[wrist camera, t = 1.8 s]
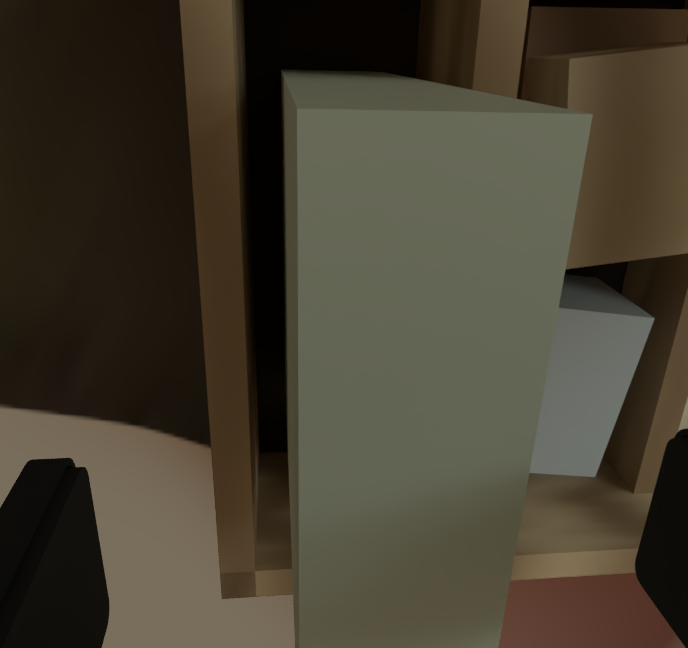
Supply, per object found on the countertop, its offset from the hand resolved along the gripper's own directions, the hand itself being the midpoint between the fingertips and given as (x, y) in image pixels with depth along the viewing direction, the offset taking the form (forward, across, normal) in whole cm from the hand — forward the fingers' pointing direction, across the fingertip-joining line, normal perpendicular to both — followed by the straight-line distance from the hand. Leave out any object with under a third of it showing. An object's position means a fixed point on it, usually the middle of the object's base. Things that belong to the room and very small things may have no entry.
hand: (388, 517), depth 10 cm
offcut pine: (+12, -9, -4) cm, 16 cm away
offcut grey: (+16, -9, +5) cm, 19 cm away
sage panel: (+16, -1, 0) cm, 16 cm away
